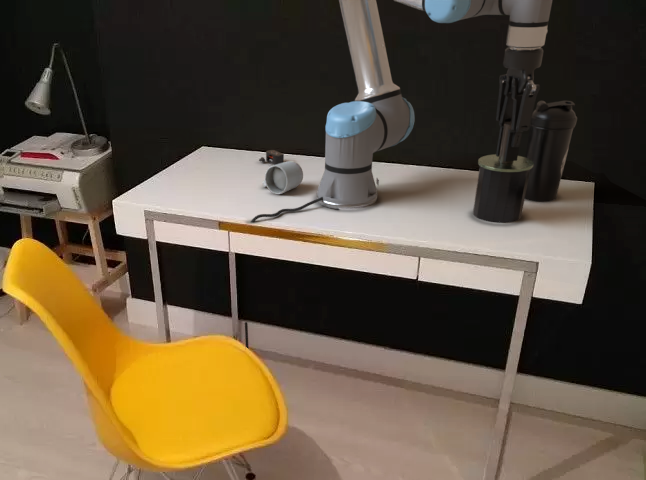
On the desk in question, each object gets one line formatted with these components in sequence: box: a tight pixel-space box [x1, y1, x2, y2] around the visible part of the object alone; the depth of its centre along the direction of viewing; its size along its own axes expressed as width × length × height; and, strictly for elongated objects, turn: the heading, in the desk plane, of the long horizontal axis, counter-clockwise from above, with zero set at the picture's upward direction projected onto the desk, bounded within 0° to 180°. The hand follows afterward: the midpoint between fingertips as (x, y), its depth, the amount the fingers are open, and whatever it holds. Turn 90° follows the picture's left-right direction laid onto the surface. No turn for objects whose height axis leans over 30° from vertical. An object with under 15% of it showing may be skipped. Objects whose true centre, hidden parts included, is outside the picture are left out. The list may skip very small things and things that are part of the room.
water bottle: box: [524, 100, 578, 203], centre depth 170 cm, size 10×10×23 cm
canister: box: [472, 165, 530, 224], centre depth 162 cm, size 11×11×13 cm
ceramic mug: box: [261, 160, 304, 195], centre depth 187 cm, size 11×8×8 cm
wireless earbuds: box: [258, 149, 285, 165], centre depth 208 cm, size 5×7×3 cm, turn 28°
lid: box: [477, 122, 534, 172], centre depth 157 cm, size 12×12×10 cm
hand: (506, 157), depth 158 cm, fingers closed on lid, 3 cm apart
